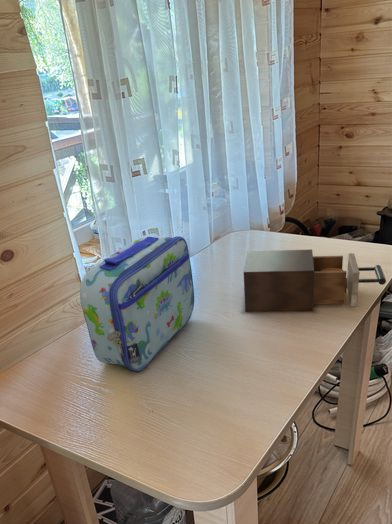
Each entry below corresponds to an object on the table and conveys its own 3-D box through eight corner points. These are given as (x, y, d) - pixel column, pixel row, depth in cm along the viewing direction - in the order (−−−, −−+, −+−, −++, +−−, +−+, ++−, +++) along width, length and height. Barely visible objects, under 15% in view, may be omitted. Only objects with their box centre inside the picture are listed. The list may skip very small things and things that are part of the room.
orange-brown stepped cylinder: (345, 284, 116) (346, 266, 114) (347, 297, 111) (349, 278, 108) (316, 285, 117) (316, 266, 115) (317, 297, 112) (318, 278, 110)
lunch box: (134, 384, 94) (115, 279, 83) (89, 371, 99) (65, 271, 88) (203, 318, 113) (194, 226, 102) (162, 310, 118) (149, 221, 107)
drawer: (377, 284, 117) (381, 252, 113) (384, 305, 108) (388, 271, 104) (291, 285, 120) (292, 254, 116) (292, 306, 112) (292, 273, 108)
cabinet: (310, 288, 121) (312, 249, 116) (312, 311, 111) (314, 270, 106) (248, 289, 123) (247, 251, 118) (245, 312, 114) (243, 272, 109)
